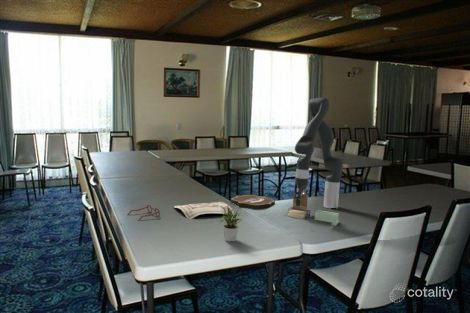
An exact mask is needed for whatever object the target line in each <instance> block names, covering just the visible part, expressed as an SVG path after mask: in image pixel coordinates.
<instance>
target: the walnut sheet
mask: <svg viewBox="0 0 470 313" xmlns="http://www.w3.org/2000/svg"><path fill="white" fill-rule="evenodd" d="M308 200H309V195H308V194H306V195H305V194H302V197H301V199H300V206H296V199H295V192H294V193H293V199H292V207H293V209H296V210H302V211H307V210H308V204H309V203H308Z"/></svg>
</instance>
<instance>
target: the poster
mask: <svg viewBox="0 0 470 313" xmlns="http://www.w3.org/2000/svg"><path fill="white" fill-rule="evenodd" d="M221 206H222V207H224V209H225V211H226V213H228V207H229V209H230V211H232V210H233V212H232V213H235V214H236V211H235V209H234V208H232V207H231V206H230V205H229V204H227V203H226V202H223V201H211V202H203V203H202V202H200V203H190V204H184V205H174V206H173V207H174V208H177V209H179V210H181V211H182V213H183V214H184V215H185V217H186V218H187V219H190V220H192V219H194V218H196V217H198V216H200V215H205V214H222V213H223V214H224V212H225V211H224V209H223V208H222V207H221ZM227 206H228V207H227ZM219 209H220V210H219ZM223 211H224V212H223ZM221 212H222V213H221ZM226 213H225V214H226ZM223 214H222V215H223ZM225 214H224V215H225Z"/></svg>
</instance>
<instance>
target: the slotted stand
mask: <svg viewBox="0 0 470 313" xmlns="http://www.w3.org/2000/svg"><path fill="white" fill-rule="evenodd" d="M314 215H315V216H314V219H313V220H315V221H322V222H326V223H327V222H328V223H329V225H330V226H334V227H336V226H337V225H338V224H339V215H340V213H337V212H332V211H324V210H321V209H317V210H316V211H315V213H314Z"/></svg>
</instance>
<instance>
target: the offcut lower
mask: <svg viewBox="0 0 470 313" xmlns="http://www.w3.org/2000/svg"><path fill="white" fill-rule="evenodd" d="M288 216H290V217H289V218H292V217H296V218H295V219H298V218H301V219H300V220H303V218H305V217H306V215H305V216H299V215H293V214H288Z"/></svg>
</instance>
